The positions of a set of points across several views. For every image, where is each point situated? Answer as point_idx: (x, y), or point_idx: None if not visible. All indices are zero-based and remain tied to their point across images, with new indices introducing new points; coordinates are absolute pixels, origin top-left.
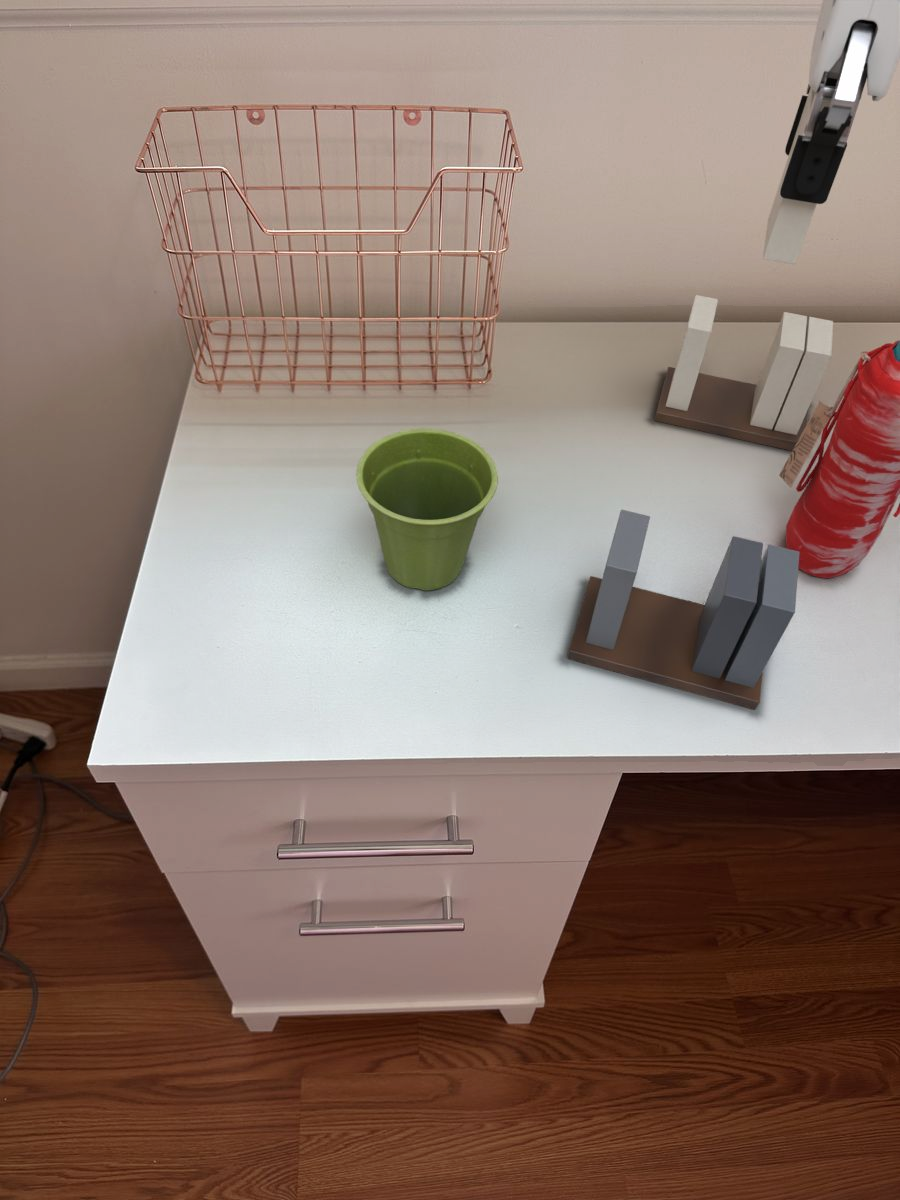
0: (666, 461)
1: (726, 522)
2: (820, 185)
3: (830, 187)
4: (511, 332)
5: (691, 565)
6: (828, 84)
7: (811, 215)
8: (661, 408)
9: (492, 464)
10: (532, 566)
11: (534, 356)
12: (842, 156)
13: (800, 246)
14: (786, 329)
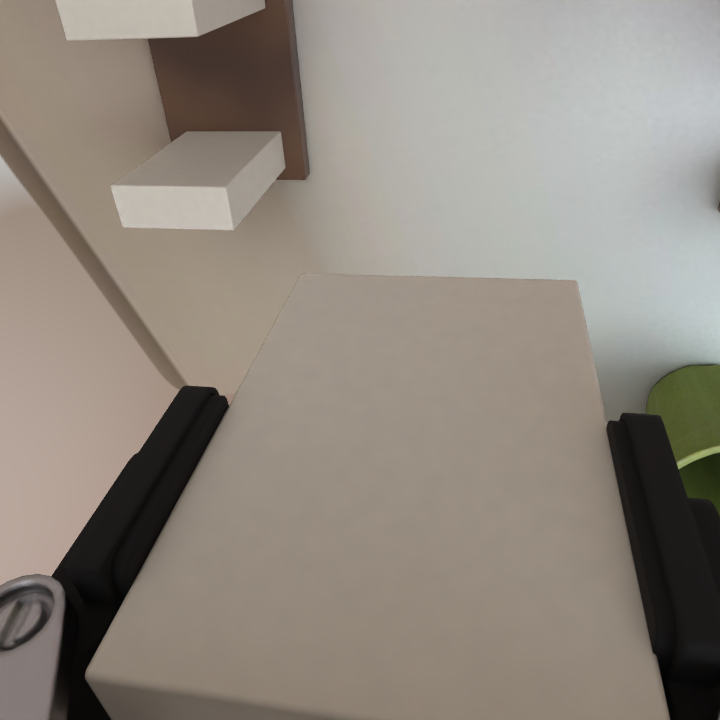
0: (401, 138)
1: (528, 8)
2: (716, 519)
3: (675, 462)
4: (211, 386)
5: (652, 55)
6: (72, 706)
7: (598, 384)
8: (292, 173)
9: (710, 451)
10: (686, 285)
11: (245, 353)
12: (717, 591)
13: (583, 314)
14: (130, 27)
